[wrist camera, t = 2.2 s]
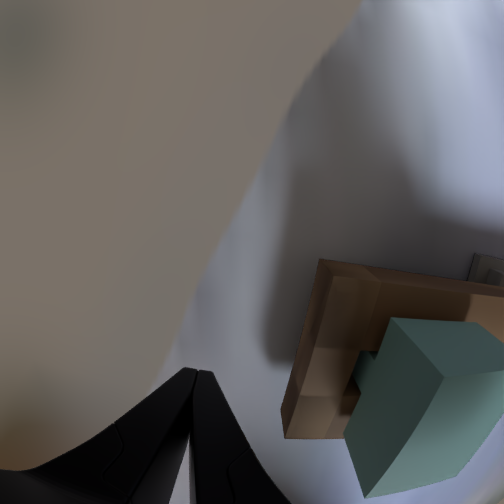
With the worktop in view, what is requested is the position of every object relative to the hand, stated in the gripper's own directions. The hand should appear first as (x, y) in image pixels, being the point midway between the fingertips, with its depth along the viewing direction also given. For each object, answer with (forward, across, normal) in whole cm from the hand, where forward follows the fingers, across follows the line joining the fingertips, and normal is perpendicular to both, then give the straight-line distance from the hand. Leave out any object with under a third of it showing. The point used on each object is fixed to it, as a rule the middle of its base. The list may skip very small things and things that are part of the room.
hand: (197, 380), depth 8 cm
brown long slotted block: (+4, -14, 0) cm, 15 cm away
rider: (+2, -7, 0) cm, 8 cm away
